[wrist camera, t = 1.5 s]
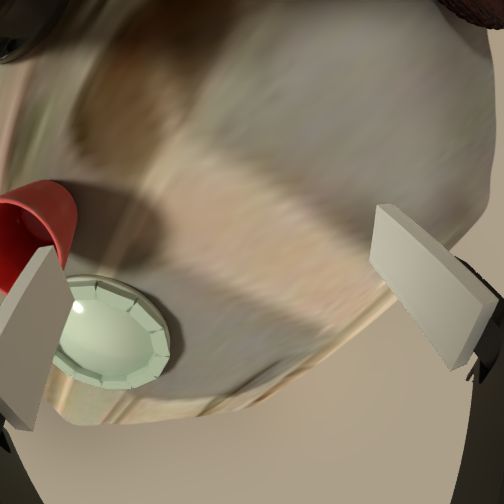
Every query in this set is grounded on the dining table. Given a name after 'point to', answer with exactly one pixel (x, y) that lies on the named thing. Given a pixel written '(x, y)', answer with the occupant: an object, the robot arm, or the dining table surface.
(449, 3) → the vase
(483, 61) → the dining table surface
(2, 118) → the dining table surface
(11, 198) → the flower pot
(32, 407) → the robot arm
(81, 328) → the round tray
